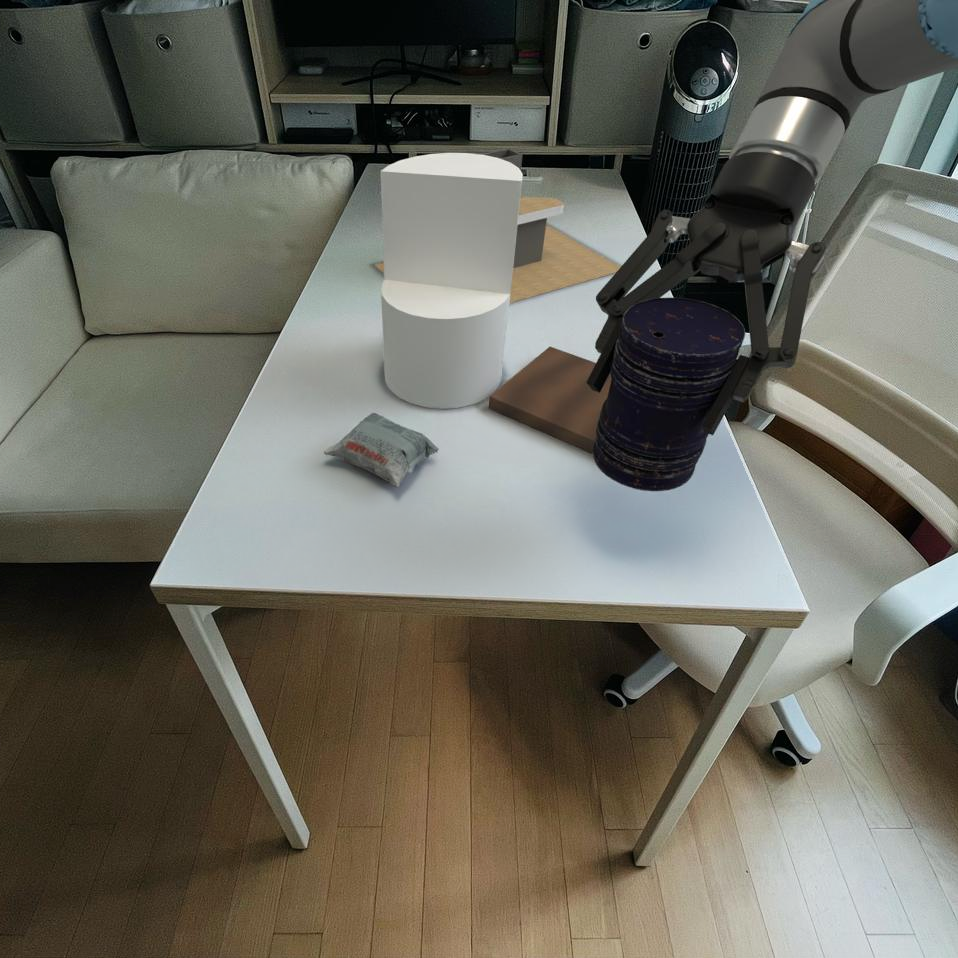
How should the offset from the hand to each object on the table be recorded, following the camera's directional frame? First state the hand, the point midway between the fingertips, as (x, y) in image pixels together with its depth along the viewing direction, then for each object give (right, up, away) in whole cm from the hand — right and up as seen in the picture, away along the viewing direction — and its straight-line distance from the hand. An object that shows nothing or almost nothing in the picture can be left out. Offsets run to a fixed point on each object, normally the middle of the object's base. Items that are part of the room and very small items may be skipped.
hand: (647, 408), depth 59 cm
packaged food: (-23, -5, +25) cm, 34 cm away
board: (+4, +4, +31) cm, 32 cm away
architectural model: (-1, +33, +63) cm, 71 cm away
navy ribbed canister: (+2, -4, +7) cm, 9 cm away
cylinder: (-14, +9, +39) cm, 42 cm away
